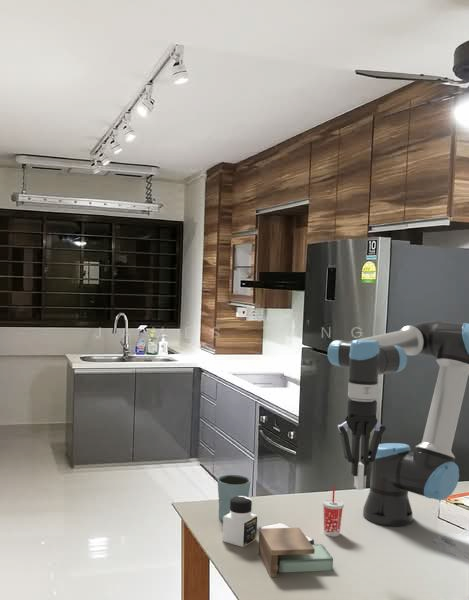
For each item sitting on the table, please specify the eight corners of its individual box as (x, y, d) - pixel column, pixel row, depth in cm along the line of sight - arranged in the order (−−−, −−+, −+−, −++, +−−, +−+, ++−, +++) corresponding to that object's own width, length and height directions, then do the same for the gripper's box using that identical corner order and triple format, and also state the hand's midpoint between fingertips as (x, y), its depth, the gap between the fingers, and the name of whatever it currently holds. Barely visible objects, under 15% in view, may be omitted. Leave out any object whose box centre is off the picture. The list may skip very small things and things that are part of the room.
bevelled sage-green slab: (321, 555, 176) (322, 544, 176) (332, 570, 167) (333, 558, 167) (270, 557, 173) (271, 545, 173) (279, 572, 164) (279, 560, 164)
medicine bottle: (243, 547, 179) (245, 504, 178) (221, 541, 182) (223, 498, 182) (256, 539, 185) (258, 497, 184) (235, 533, 188) (237, 492, 188)
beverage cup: (333, 528, 196) (336, 481, 195) (346, 535, 190) (348, 487, 190) (317, 531, 193) (319, 483, 192) (329, 538, 187) (331, 490, 187)
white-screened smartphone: (257, 532, 192) (290, 551, 178) (257, 526, 192) (291, 545, 178) (281, 527, 196) (315, 545, 183) (281, 521, 196) (316, 539, 183)
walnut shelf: (298, 552, 177) (299, 527, 177) (313, 575, 163) (314, 549, 163) (258, 553, 175) (259, 528, 175) (270, 577, 161) (271, 550, 161)
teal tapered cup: (226, 526, 193) (227, 486, 193) (209, 515, 202) (211, 476, 202) (255, 521, 199) (256, 482, 198) (238, 510, 207) (239, 472, 207)
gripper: (343, 401, 167) (339, 493, 168) (391, 401, 169) (387, 492, 170) (333, 396, 174) (330, 483, 175) (380, 396, 177) (376, 482, 177)
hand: (358, 487), depth 173 cm, fingers closed
